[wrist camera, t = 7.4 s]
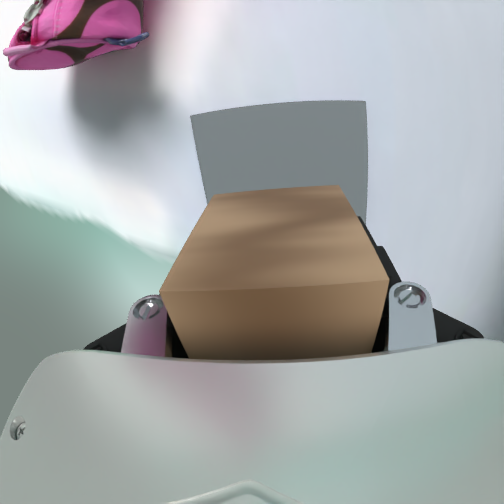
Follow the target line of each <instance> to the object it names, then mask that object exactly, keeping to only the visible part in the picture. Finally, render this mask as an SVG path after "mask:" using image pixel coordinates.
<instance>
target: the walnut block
mask: <svg viewBox="0 0 504 504" xmlns="http://www.w3.org/2000/svg"><path fill="white" fill-rule="evenodd" d="M388 284H389V278H388V276H387V273H386V271H385V269H384V267H383V265H382V263H381V261H380V259H379V257H378V255H377V253H376V251H375V249H374V247H373V245H372V243H371V241H370V239H369V237H368V236H367V234H366V232H365V230H364V228H363V226H362V224H361V223H360V221H359V219H358V217H357V215H356V214H355V212H354V210H353V208H352V207H351V205H350V203H349V201H348V200H347V198H346V196H345V195H344V193H343V191H342V190H341V188H340V186H339V185H326V186H308V187H292V188H278V189H266V190H254V191H244V192H234V193H224V194H215V195H213V197H212V198H211V200H210V202H209V203H208V205H207V207H206V208H205V210H204V212H203V213H202V215H201V217H200V218H199V220H198V222H197V224H196V225H195V227H194V229H193V230H192V232H191V234H190V236H189V237H188V239H187V241H186V243H185V244H184V246H183V248H182V250H181V252H180V253H179V255H178V257H177V259H176V261H175V262H174V264H173V266H172V268H171V270H170V272H169V274H168V276H167V277H166V279H165V281H164V283H163V285H162V287H161V289H160V290H159V292H160V295H161V297H162V300H163V302H164V305H165V307H166V309H167V312H168V314H169V316H170V318H171V321H172V323H173V325H174V327H175V330H176V332H177V334H178V336H179V338H180V340H181V342H182V345H183V347H184V349H185V351H186V353H187V355H188V357H189V359H206V360H292V359H311V358H326V357H339V356H349V355H359V354H368V353H371V352H372V348H373V345H374V342H375V338H376V335H377V331H378V327H379V323H380V319H381V315H382V311H383V307H384V303H385V298H386V294H387V289H388Z"/></svg>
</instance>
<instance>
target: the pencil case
mask: <svg viewBox="0 0 504 504" xmlns="http://www.w3.org/2000/svg"><path fill="white" fill-rule="evenodd" d="M142 30H143V0H35V1H34V4H32V5H31V6H30V7H29V9H28V10H27V12H26V13H25V15H24V23H23V24H22V25H21V26H20V27H19V28H18V29H17V31H16V33H15V35H14V36H13V38H12V40H11V42H10V45H9V48H5V49H4V50H3V54H4V55H5V56H8V61H9V66H10V68H12V69H15V70H48V69H59V68H66V67H70V66H73V65H77V64H79V63H82V62H84V61H86V60H88V59H90V58H93V57H96V56H98V55H101V54H104V53H107V52H110V51H114V50H123V49H131V48H135V47H136V45H137V44H139V42H140V41H142V40H144V39H145V38H147V37H148V36H149V33H148V32H145V33H142Z"/></svg>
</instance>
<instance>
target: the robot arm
mask: <svg viewBox="0 0 504 504" xmlns="http://www.w3.org/2000/svg"><path fill="white" fill-rule="evenodd" d="M357 217H358V219H359V221H360V223H361V224H362V226H363V228H364V230H365V232H366V234H367V236H368V237H369V239H370V241H371V243H372V245H373V247H374V249H375V251H376V253H377V255H378V257H379V259H380V261H381V263H382V265H383V267H384V269H385V271H386V273H387V276H388V278H389V284H388V289H387V294H386V298H385V303H384V307H383V311H382V315H381V319H380V323H379V327H378V331H377V335H376V338H375V342H374V345H373V348H372V352H371V353H368V354H359V355H349V356H339V357H326V358H311V359H292V360H206V359H189V357H188V355H187V353H186V351H185V349H184V347H183V345H182V342H181V340H180V338H179V336H178V334H177V332H176V330H175V327H174V325H173V323H172V321H171V318H170V316H169V314H168V312H167V309H166V307H165V305H164V302H163V300H162V297H161V295H160V294H159V295H148V296H145V297H143V298H141V299H139V300H138V301H136V302H135V303H134V304H133V305H132V307H131V308H130V311H129V314H128V319H127V323H126V324H124V325H122V326H121V327H119V328H117V329H115V330H113V331H112V332H110V333H108V334H107V335H104V336H103V337H101V338H99V339H97V340H95V341H94V342H92V343H90V344H89V345H87V346H86V347H85V348H84V349H83V350H69V351H65V352H60V353H56V354H53V355H51V356H49V357H47V358H45V359H44V360H43V361H42V362H41V363H40V364H39V365H38V366H37V367H36V369H35V370H34V372H33V373H32V374H31V376H30V378H29V379H28V381H27V382H26V384H25V386H24V388H23V389H22V391H21V393H20V395H19V397H18V399H17V401H16V403H15V405H14V407H13V409H12V411H11V413H10V415H9V418H8V420H7V422H6V425H5V427H4V430H3V432H2V435H1V438H0V504H504V342H502V341H499V340H493V339H486V338H484V337H483V335H482V334H481V333H480V332H479V331H477V330H476V329H474V328H472V327H470V326H468V325H466V324H464V323H462V322H460V321H458V320H456V319H454V318H452V317H450V316H448V315H446V314H444V313H442V312H440V311H438V310H436V309H434V308H432V303H431V297H430V295H429V293H428V291H427V290H426V289H425V288H424V287H422V286H421V285H419V284H416V283H413V282H402V281H401V279H400V277H399V275H398V273H397V272H396V270H395V268H394V266H393V264H392V262H391V260H390V258H389V256H388V255H387V253H386V251H385V249H384V248H383V246H377V245H376V243H375V241H374V240H373V238H372V236H371V234H370V232H369V231H368V229H367V227H366V225H365V223H364V222H363V220H362V218H361V217H360V216H357Z"/></svg>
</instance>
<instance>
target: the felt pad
mask: <svg viewBox="0 0 504 504" xmlns="http://www.w3.org/2000/svg"><path fill="white" fill-rule="evenodd" d="M190 118H191V123H192V129H193V134H194V139H195V145H196V150H197V155H198V160H199V165H200V170H201V175H202V180H203V185H204V190H205V195H206V199H207V204H208V203H209V202H210V200H211V198H212V197H213V195H215V194H224V193H234V192H244V191H254V190H266V189H278V188H292V187H308V186H326V185H339V186H340V188H341V190H342V191H343V193H344V195H345V196H346V198H347V200H348V201H349V203H350V205H351V207H352V208H353V210H354V212H355V214H356V215H357V216H360V217H361V218H362V220H363V222H364V223H365V225H366V209H367V183H368V139H367V114H366V101H302V102H286V103H274V104H263V105H254V106H246V107H239V108H232V109H225V110H219V111H213V112H207V113H202V114H197V115H192V116H190Z"/></svg>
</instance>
